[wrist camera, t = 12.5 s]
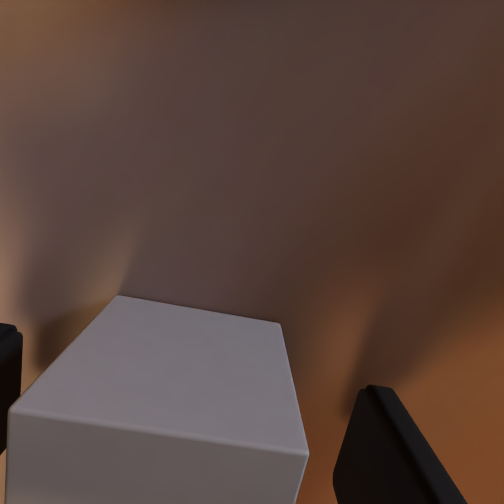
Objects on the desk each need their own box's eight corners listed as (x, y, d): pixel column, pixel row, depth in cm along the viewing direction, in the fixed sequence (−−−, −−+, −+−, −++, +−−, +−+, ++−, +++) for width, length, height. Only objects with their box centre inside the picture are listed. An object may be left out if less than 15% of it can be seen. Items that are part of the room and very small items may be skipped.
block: (280, 322, 10) (311, 454, 5) (249, 455, 11) (252, 655, 6) (116, 293, 9) (5, 408, 5) (100, 433, 10) (-2, 628, 6)
